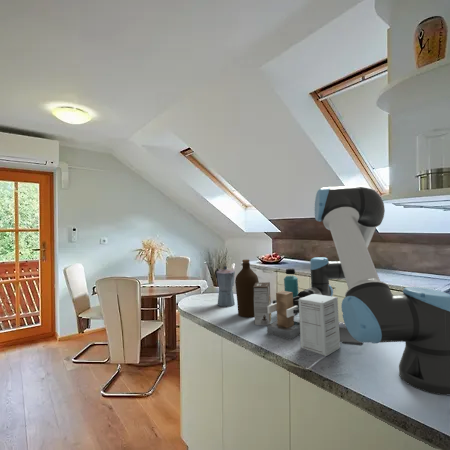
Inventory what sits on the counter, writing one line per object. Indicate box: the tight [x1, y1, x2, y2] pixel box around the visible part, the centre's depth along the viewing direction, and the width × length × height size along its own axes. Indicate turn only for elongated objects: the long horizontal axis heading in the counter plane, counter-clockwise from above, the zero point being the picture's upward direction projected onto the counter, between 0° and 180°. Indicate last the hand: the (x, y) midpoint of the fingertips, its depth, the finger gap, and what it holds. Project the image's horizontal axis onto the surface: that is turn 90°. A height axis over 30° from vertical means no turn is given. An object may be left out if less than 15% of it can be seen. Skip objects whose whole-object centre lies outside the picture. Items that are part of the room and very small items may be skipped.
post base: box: [266, 320, 300, 341], centre depth 119 cm, size 10×10×4 cm
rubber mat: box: [339, 326, 364, 345], centre depth 114 cm, size 14×12×1 cm
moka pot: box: [214, 265, 236, 307], centre depth 164 cm, size 10×15×20 cm, turn 42°
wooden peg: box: [275, 290, 295, 328], centre depth 119 cm, size 4×4×15 cm
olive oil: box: [234, 259, 260, 318], centre depth 145 cm, size 11×11×25 cm
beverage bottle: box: [283, 268, 300, 297], centre depth 145 cm, size 6×7×20 cm
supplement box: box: [298, 294, 341, 357], centre depth 104 cm, size 10×9×17 cm
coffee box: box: [253, 281, 272, 326], centre depth 133 cm, size 9×6×16 cm
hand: (277, 311), depth 115 cm, fingers open, 8 cm apart
